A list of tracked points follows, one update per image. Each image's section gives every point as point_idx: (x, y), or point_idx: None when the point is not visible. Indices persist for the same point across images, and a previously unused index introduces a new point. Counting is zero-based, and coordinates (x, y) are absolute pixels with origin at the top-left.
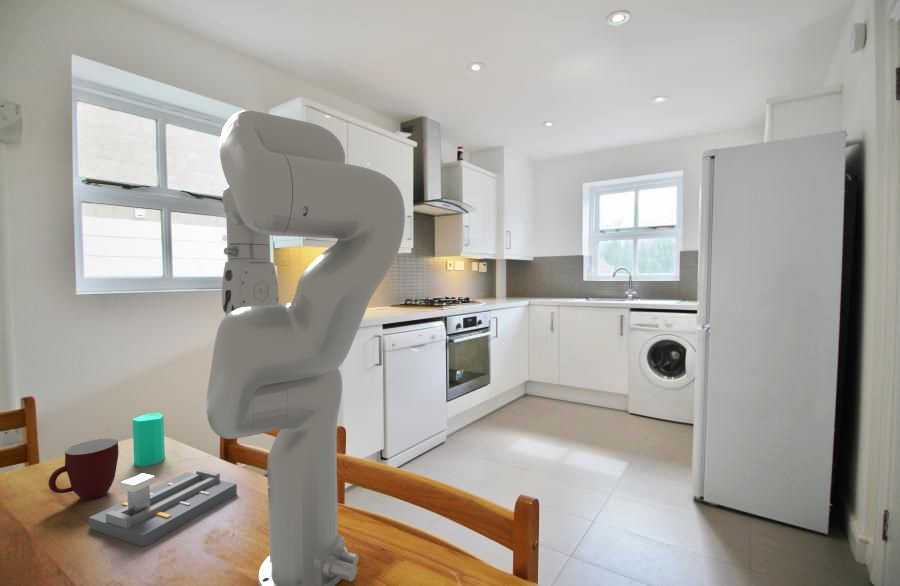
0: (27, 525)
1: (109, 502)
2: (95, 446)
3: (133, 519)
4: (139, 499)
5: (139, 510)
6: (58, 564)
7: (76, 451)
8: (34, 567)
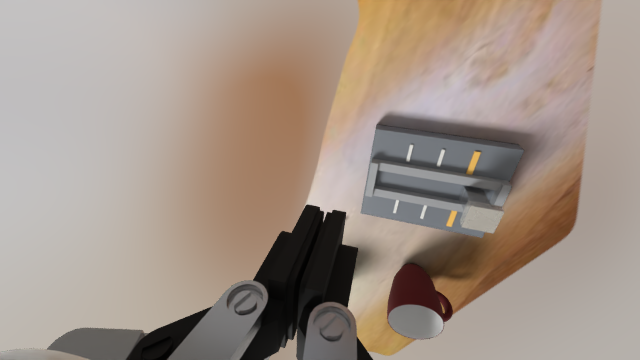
0: (475, 284)
1: (422, 249)
2: (395, 322)
3: (501, 182)
4: (482, 199)
5: (479, 191)
6: (551, 206)
7: (413, 330)
8: (555, 223)
